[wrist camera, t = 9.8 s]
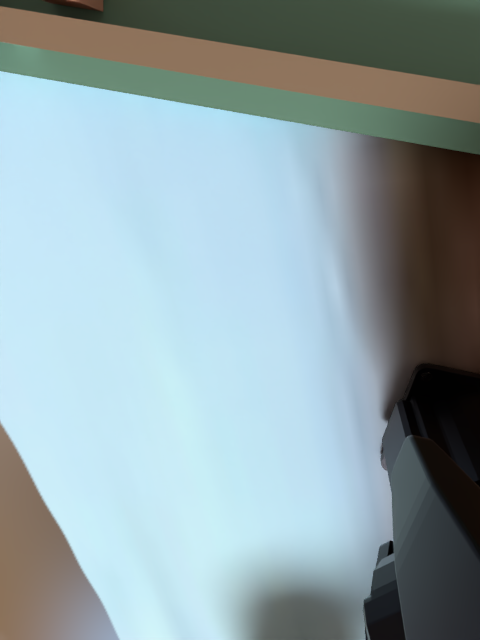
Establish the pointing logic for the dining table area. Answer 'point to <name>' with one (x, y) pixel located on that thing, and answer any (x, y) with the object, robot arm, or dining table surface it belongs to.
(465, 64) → the pitch
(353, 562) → the dining table surface
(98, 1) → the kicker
